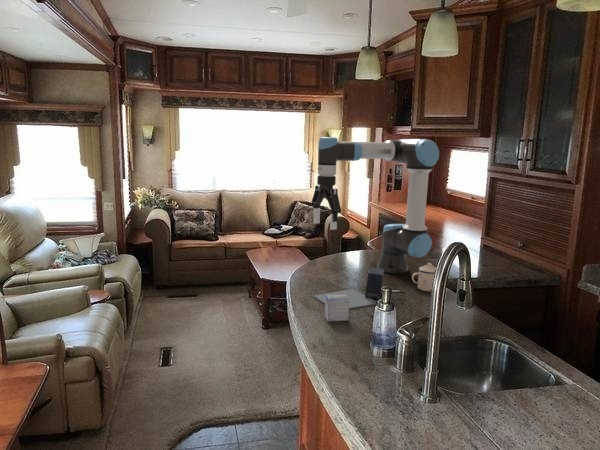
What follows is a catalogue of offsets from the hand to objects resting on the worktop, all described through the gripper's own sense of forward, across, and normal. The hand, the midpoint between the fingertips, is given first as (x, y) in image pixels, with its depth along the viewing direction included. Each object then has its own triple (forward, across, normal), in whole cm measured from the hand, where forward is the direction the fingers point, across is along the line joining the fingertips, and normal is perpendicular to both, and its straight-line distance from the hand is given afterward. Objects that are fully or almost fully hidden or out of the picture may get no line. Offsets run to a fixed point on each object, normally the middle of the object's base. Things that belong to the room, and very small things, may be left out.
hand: (324, 226), depth 199 cm
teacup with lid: (+28, +16, +43) cm, 54 cm away
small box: (+28, +15, +16) cm, 35 cm away
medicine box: (+28, +30, -12) cm, 43 cm away
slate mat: (+28, +15, +2) cm, 32 cm away
